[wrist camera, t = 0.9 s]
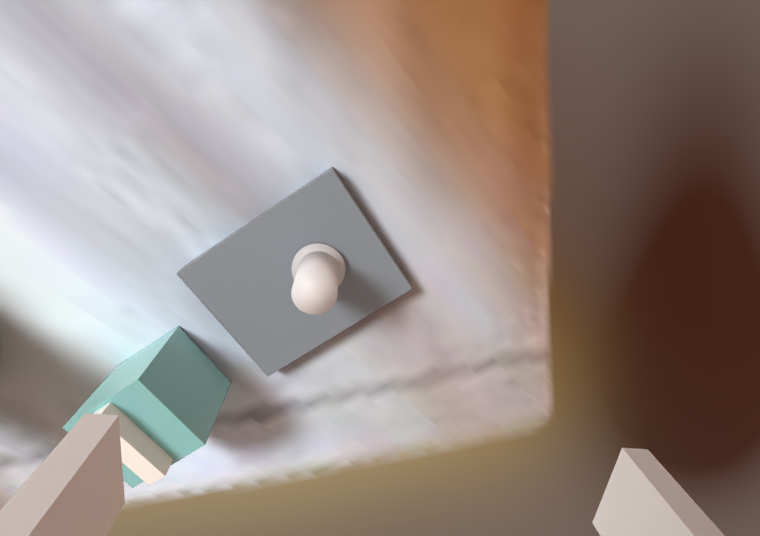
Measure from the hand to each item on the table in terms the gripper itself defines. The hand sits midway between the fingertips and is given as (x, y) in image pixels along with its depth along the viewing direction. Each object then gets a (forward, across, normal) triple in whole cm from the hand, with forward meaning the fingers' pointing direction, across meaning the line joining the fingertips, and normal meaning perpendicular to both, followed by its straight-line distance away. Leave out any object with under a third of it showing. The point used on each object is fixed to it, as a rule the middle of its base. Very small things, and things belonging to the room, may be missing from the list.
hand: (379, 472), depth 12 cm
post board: (+24, -4, -4) cm, 25 cm away
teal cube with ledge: (+24, -14, -14) cm, 31 cm away
